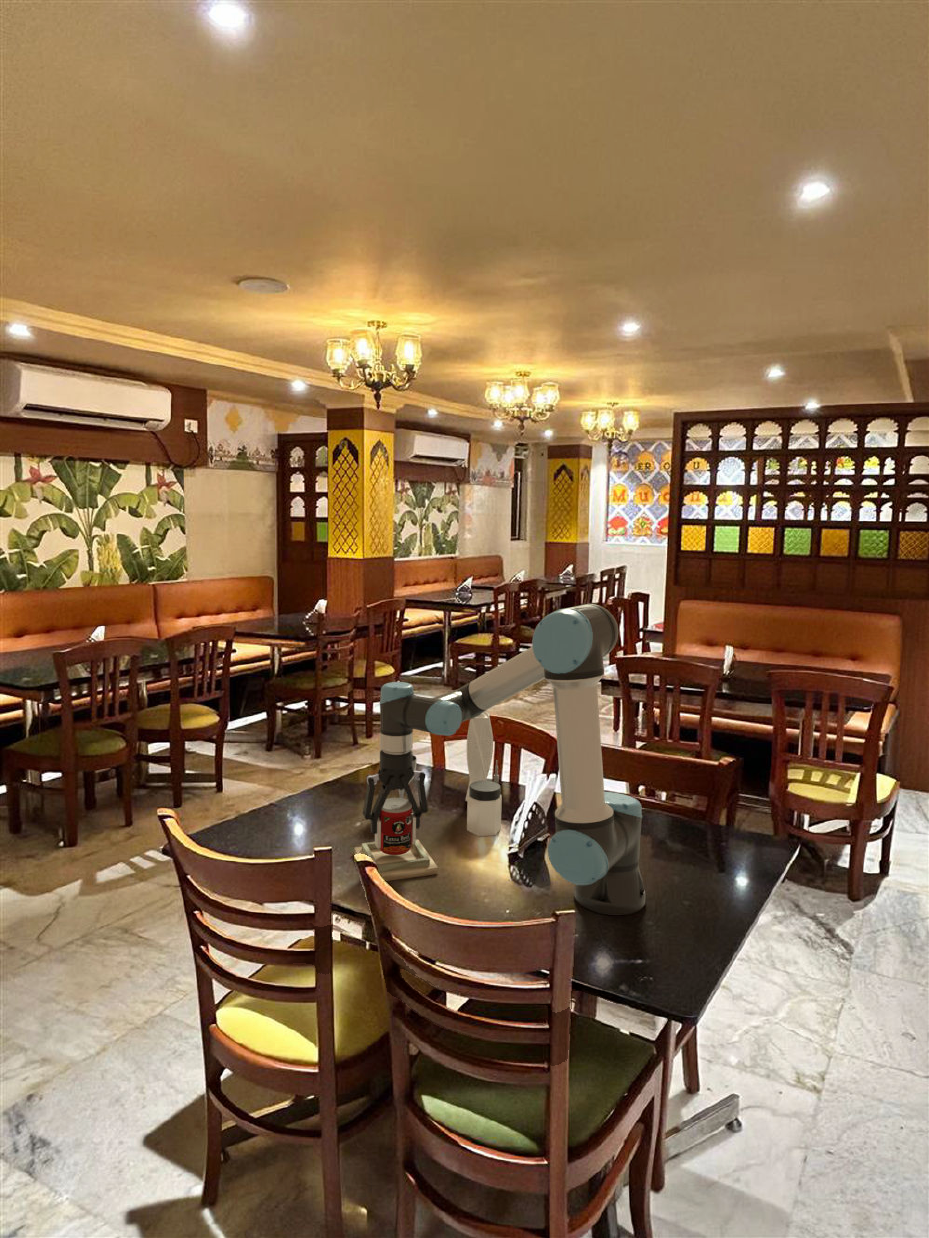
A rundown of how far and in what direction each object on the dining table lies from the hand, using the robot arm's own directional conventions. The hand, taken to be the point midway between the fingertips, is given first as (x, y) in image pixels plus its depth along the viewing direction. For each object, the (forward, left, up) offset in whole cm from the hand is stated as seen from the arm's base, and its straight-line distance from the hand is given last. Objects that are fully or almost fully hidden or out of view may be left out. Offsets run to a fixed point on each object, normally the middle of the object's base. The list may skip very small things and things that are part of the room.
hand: (395, 843), depth 188 cm
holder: (0, 0, -5) cm, 5 cm away
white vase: (+31, -33, -5) cm, 46 cm away
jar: (+12, -27, -5) cm, 30 cm away
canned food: (0, 0, -1) cm, 1 cm away
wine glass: (+31, -10, -5) cm, 33 cm away
